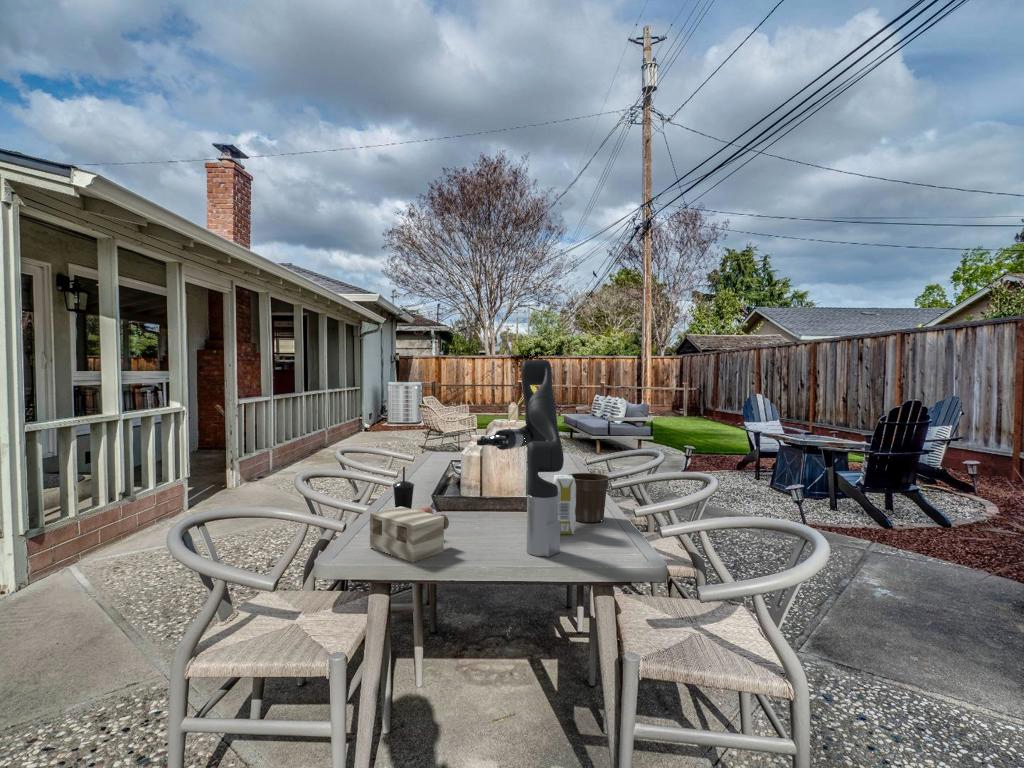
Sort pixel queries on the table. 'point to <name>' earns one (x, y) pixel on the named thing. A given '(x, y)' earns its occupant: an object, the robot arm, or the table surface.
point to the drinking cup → (403, 493)
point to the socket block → (421, 533)
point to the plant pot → (590, 496)
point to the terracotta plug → (426, 510)
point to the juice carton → (566, 503)
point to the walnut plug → (403, 530)
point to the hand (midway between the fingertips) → (478, 442)
